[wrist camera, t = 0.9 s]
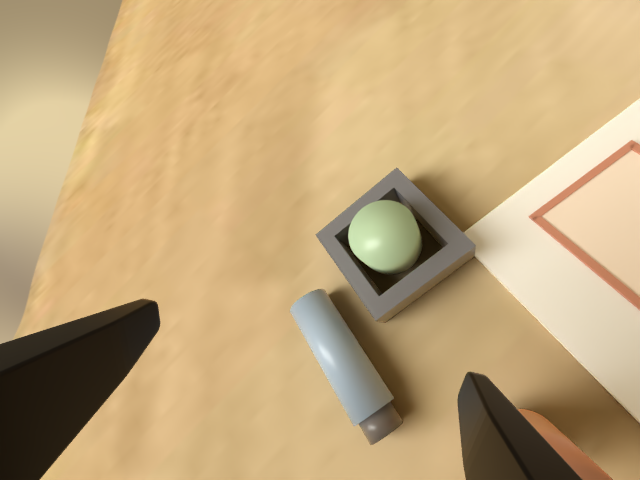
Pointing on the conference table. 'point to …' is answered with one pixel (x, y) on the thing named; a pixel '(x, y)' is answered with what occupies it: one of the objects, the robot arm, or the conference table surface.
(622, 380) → the sheet
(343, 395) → the grey cylinder
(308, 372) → the conference table surface
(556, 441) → the salmon rounded cylinder
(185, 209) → the conference table surface
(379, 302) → the button housing
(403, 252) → the button
